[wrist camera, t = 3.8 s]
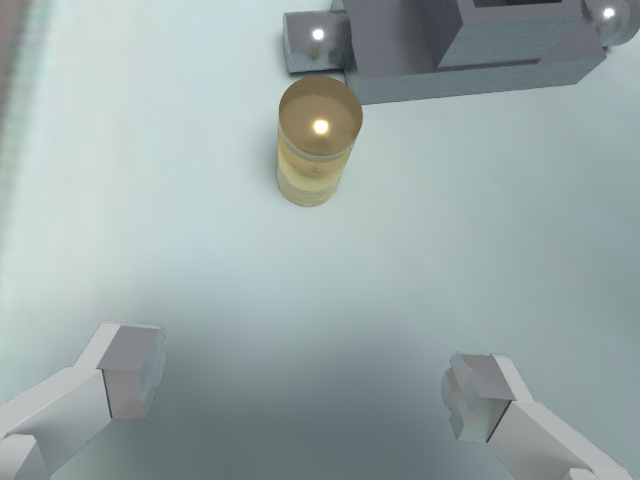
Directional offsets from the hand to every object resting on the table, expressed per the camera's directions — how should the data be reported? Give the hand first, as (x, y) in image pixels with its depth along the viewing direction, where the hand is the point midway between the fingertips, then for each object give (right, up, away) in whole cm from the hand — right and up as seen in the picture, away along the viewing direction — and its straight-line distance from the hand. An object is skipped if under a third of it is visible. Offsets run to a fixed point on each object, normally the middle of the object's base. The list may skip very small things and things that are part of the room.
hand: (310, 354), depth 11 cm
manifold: (+11, +18, +19) cm, 28 cm away
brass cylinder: (-1, +7, +15) cm, 17 cm away
